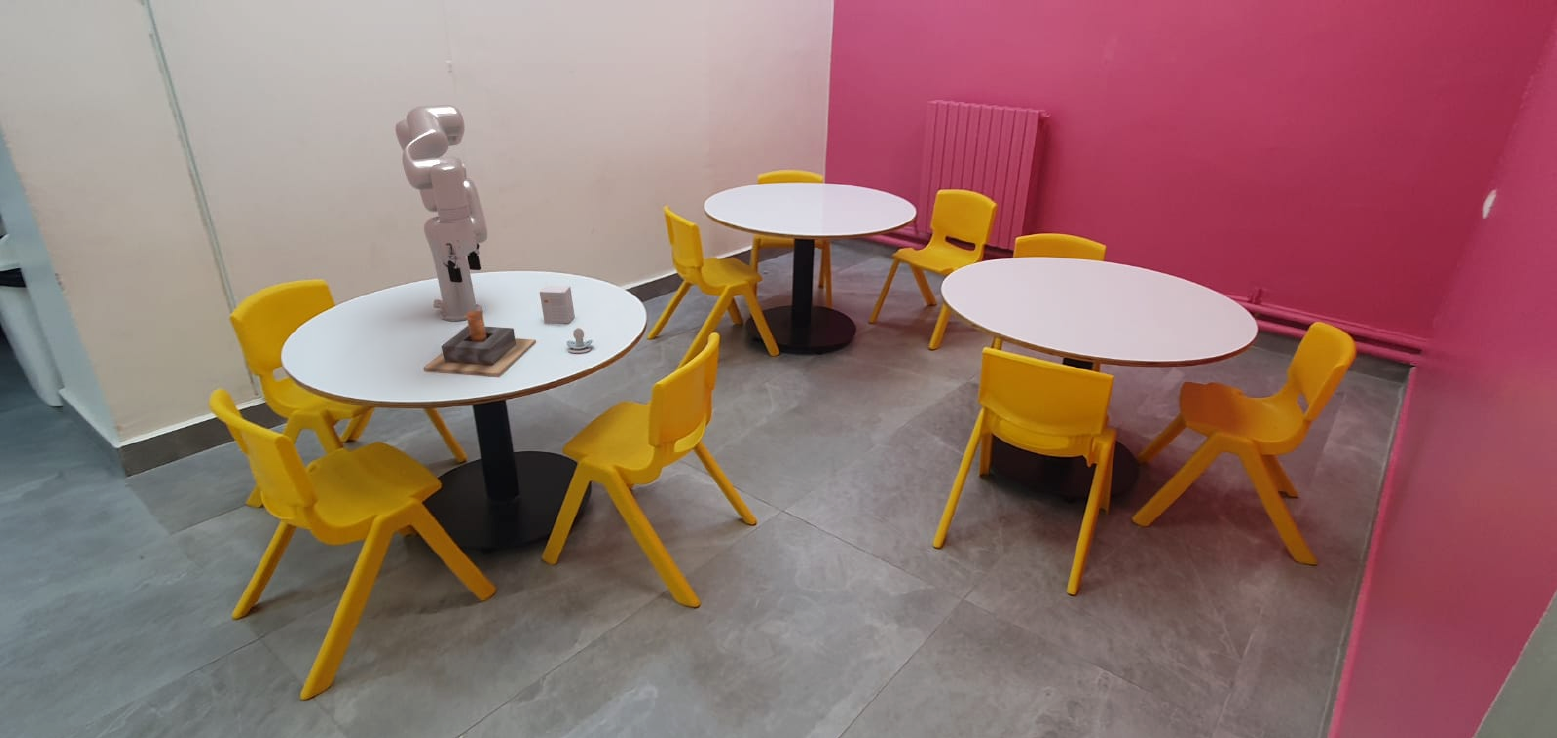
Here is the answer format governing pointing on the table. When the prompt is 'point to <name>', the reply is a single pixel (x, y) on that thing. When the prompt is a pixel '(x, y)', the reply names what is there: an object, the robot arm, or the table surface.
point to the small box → (557, 304)
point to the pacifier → (579, 342)
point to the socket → (480, 353)
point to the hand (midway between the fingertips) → (466, 275)
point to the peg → (476, 326)
